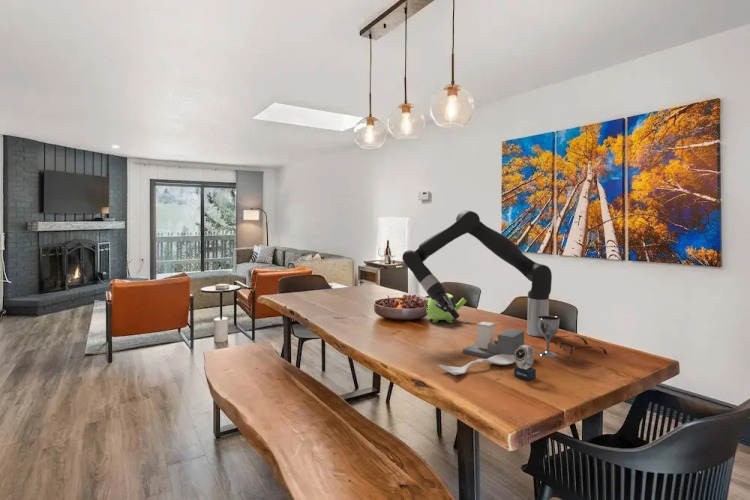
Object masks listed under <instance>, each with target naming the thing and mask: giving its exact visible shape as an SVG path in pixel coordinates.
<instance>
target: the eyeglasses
mask: <svg viewBox="0 0 750 500" xmlns="http://www.w3.org/2000/svg"><path fill="white" fill-rule="evenodd" d="M567 337H569V335H564V336H561V338H567ZM576 337H578V338H580V339H581V340H582V341H583V342H584V344H586V345H587V344H589V343H588V342H587V341H586V339H585V338H583V337H581V336H578V335H576ZM552 338H553V340H554V345H555V346H557V342H556V340H558V341H559V342H560V345H559V346H560V347H559V348H560V349H561V348H563V350H564V351H566V349H565V345H568V346H569V347H570V348H571V351H570V354H571V355H572V354H573V350H575V349H586V348H587V349H589V348H591V346H584V347H583V346H582V347H581V346H580V347H573V346H572V345H571V344H570V343H567V342H562V341H561V339H560V336H553V337H552ZM598 348H600V349H602V350H603V352H604V354H607V351H606V349H605V348H604V347H601V346H598Z"/></svg>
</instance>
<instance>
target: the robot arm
mask: <svg viewBox="0 0 750 500" xmlns="http://www.w3.org/2000/svg"><path fill="white" fill-rule="evenodd" d="M480 219H481V218H480V216H479V215H478V213H477V212H475V211H473V210H464V211H460V212H459V213H458V214H457V216H456V218H455V222H454V223H452V224H451V225H450V226H448V227H447V228H445V229H443V230H440V231H439V232H436V233H435V234H433V235H431V236H430V237H428V238H427V239H426V240H424V241H423V242H421V243H420V244H419V245H418V248H417V249H416V250H412V249H409V250H408V249H407V250H405V251H404V253H403V254H402V257H401V258H402V262H403V263H404V265H405V266H406V267H407V268H408V269H409V271H410V272H412V274H413V276H414V278H415V279H416V280H417V282H418V283H419V284H420V285H421V287H422V288H423V290H424V291H425V293H426V294H427V295H428V296H429V298H431V299H432V300H436V302H437V304H436V306H437V307H438V308H440V309H441V310H443V311H444V312H448V313H450V314H451V315H452V316H453V318H454V319H453V320H457V319H458V318H460V314H459V313H458V311H457V312H456V310H455V307H456V305H455V304H456V302H455V301H456V300H455V298H454V296H453V297H452V298H449V297H448V295H447V294H448V293H446V288H445V286H444V285H443V284H442V282H441V281H440V280H439V279H438V278H437V277H436V275H434V274H433V273H432V271H431V270H430V269H429V268H428V267H427V266H426V264H425V263H424V262H425V261H426V260H427V259H428V258H429V257H430V256H432V255H434V254H435V253H437V252H438V251H439V250H441V249H442V248H444V247H445V246H446V245H448V244H449V243H451V242H453V241H454V240H456V239H458V238H459V237H461V236H463V235H465V234H469V235H471V236H473V237H474V238H475V239H476V240H478V241H479V242H480V243H481V244H482V245H483V246H485V247H486V248H487V249H488V250H489V251H491V252H492V253H493V254H495V255H496V256H497V257H498V258H500V260H503V261H504V262H505V263H507V264H509V265H510V266H512V267H513V268H515V269H516V270H517V271H519V272H520V273H521V275H523V276H524V277H525V278H526V279H528V281H530V282H531V288H530V290H529V291H528V292H527V319H526V322H527V323H526V324H527V325H526V327H527V328H526V334H527V335H529V336H533V337H541V338H542V337H544V336H543V335H542V334H541V332H540V331H539V327H538V316H542V315H548V316H550V314H549V310H550V309H549V308H550V307H549V306H550V295H551V291H552V279H553V274H552V269H551V268H550V267H549V266H547V265H545V264H542V263H537V262H535V261H534V260H532V259H531V258H529V257H528V256H526V254H524V253H523V252H522V250H521V249H520V248H519V246H517V245H516V243H514V242H513V241H512V240H511V239H509V238H508V237H506V236H505V235H503V234H502V233H500V232H498V231H496V230H494V229H493V228H490V227H488V226H487V225H486V224H484V223H483V221H481V220H480Z"/></svg>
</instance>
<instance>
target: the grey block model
mask: <svg viewBox="0 0 750 500" xmlns="http://www.w3.org/2000/svg"><path fill="white" fill-rule="evenodd" d="M522 345H525V330H521V329H517V328H507V329H505V330H504V331H502V332H500V333H498V334H497V339H494V344H490V343H489V344H488V349H483V348H478V341H476V342H474V343H472V344H471V345H469V346H466V347H465V348H463V349H462V353H463V354H465V355H469V356H470V355H472V356H475V357H481V358H484V359H488V358H490V357H492V356H495V355H500V354H506V355H514V351H515V350H516V349H517V348H518V347H520V346H522Z"/></svg>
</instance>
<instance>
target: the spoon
mask: <svg viewBox="0 0 750 500" xmlns="http://www.w3.org/2000/svg"><path fill="white" fill-rule="evenodd" d="M484 363H490V364H492V365H496V366H507V365H511V364H514V363H516V362H515V358H514V355H506V354H500V355H495V356H492V357H490V358H481V359H479V358H477V359H476V360H473V361H470V362H469V363H466V364H465V365H464V366H450V365H449V366H448V365H445V364H438V368H441V369H442V370H443V371H445V372H447V373H449V374H452V375H453V376H458V375H464V374H466V372H467V370H468V369H469V368H470V367H471V366H473V365H476V364H484Z"/></svg>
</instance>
